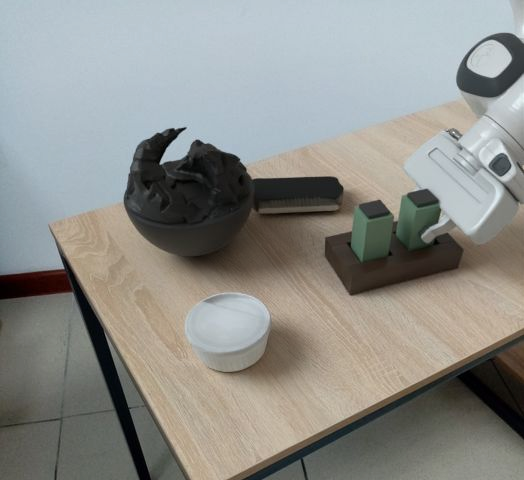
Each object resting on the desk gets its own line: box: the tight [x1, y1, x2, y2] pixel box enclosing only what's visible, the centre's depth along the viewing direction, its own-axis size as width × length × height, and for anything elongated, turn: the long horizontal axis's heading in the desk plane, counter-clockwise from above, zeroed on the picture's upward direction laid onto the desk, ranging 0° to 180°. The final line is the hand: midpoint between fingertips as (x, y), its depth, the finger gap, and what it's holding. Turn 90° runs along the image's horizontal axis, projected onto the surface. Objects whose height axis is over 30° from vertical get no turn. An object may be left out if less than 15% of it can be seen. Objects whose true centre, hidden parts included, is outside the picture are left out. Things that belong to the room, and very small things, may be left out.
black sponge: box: [252, 175, 345, 214], centre depth 93 cm, size 16×8×4 cm, turn 90°
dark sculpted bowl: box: [123, 126, 254, 257], centre depth 81 cm, size 20×20×19 cm
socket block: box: [323, 220, 464, 296], centre depth 81 cm, size 10×18×4 cm, turn 107°
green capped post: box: [396, 189, 442, 252], centre depth 79 cm, size 4×4×11 cm
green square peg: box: [351, 199, 395, 263], centre depth 78 cm, size 4×4×11 cm
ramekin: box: [184, 291, 272, 373], centre depth 70 cm, size 11×11×5 cm
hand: (412, 228), depth 79 cm, fingers closed on green capped post, 4 cm apart
